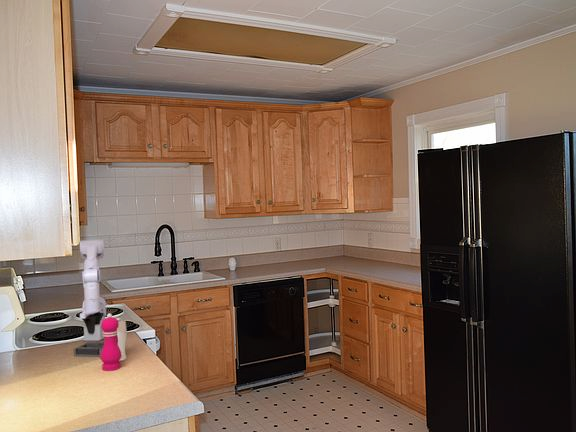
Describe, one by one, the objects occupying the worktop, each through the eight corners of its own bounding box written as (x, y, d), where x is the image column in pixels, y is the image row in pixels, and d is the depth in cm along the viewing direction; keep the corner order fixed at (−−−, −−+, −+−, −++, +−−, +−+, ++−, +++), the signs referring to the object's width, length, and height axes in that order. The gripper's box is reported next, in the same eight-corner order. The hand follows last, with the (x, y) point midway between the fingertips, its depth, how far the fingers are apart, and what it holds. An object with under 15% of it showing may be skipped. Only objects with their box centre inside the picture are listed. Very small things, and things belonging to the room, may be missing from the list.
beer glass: (130, 356, 196) (129, 318, 195) (122, 362, 189) (121, 322, 188) (113, 356, 196) (111, 318, 196) (105, 362, 189) (103, 322, 189)
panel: (87, 337, 203) (87, 324, 203) (103, 338, 202) (103, 324, 202) (84, 339, 201) (83, 325, 201) (100, 339, 200) (99, 326, 199)
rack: (87, 349, 207) (86, 341, 207) (113, 350, 205) (113, 342, 205) (74, 356, 198) (73, 347, 198) (101, 357, 196) (101, 348, 196)
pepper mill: (115, 371, 178) (113, 315, 177) (96, 371, 179) (94, 315, 179) (125, 365, 185) (123, 311, 184) (107, 364, 186) (105, 311, 186)
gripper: (93, 295, 209) (94, 327, 209) (72, 302, 194) (73, 337, 195) (108, 295, 207) (109, 328, 208) (88, 302, 193) (90, 337, 194)
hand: (93, 332), depth 201 cm, fingers closed on panel, 2 cm apart
